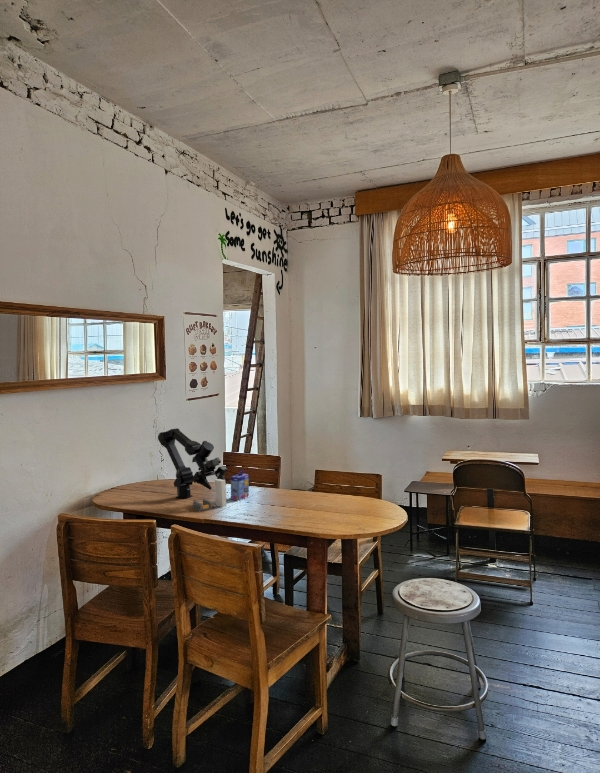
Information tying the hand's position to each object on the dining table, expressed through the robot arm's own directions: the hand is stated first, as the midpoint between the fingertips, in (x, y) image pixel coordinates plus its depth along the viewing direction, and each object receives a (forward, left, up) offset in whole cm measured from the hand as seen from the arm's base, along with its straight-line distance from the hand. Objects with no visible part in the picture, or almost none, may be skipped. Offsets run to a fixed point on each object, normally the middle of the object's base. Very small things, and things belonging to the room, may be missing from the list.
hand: (218, 487), depth 262 cm
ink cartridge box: (+2, +16, -9) cm, 18 cm away
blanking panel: (+2, 0, -9) cm, 9 cm away
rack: (-4, -7, -9) cm, 13 cm away
